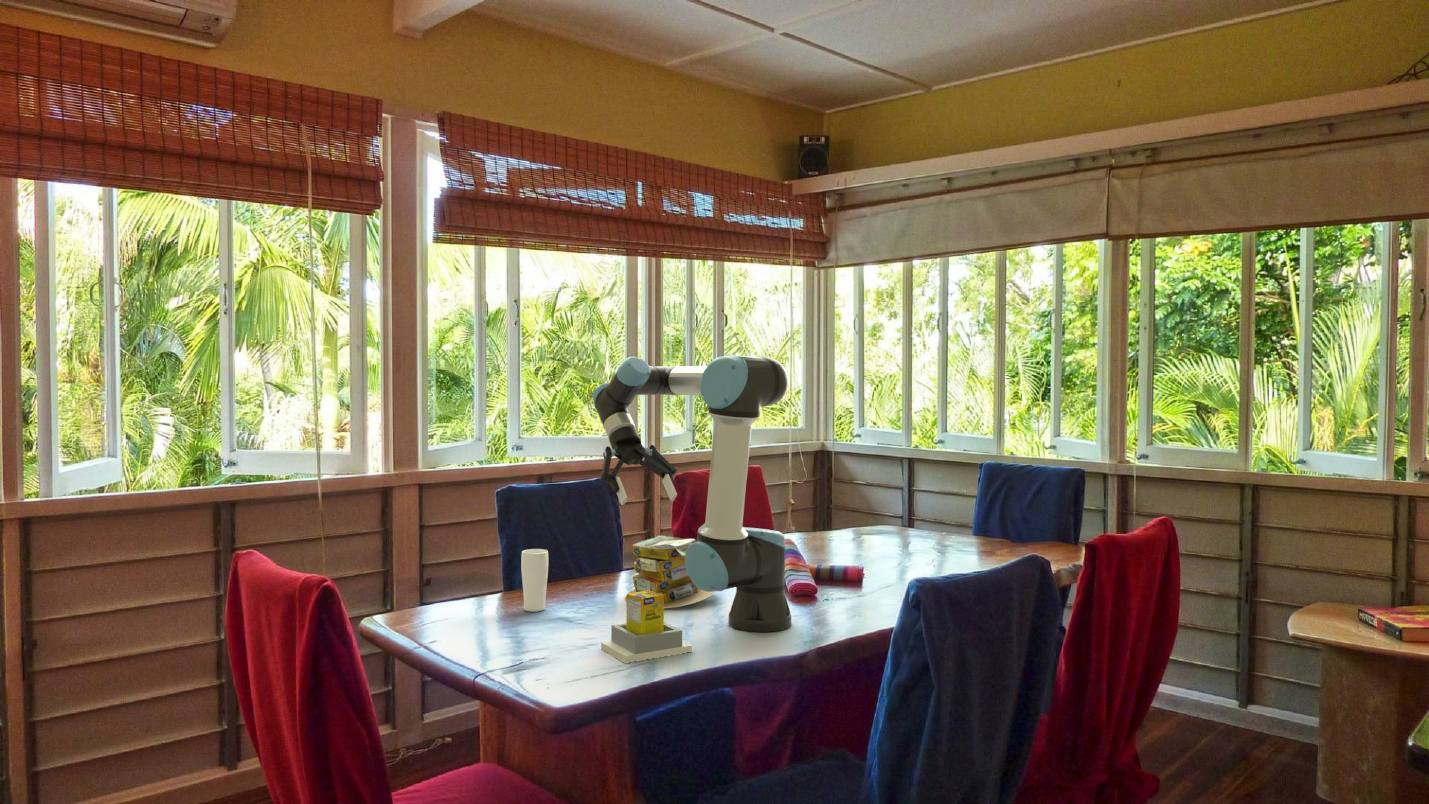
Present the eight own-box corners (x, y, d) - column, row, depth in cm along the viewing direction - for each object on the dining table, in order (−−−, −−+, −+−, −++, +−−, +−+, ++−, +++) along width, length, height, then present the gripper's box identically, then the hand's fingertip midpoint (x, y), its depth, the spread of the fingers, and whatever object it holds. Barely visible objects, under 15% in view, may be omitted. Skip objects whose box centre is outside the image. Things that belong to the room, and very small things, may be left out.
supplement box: (664, 644, 207) (664, 594, 207) (642, 649, 203) (642, 598, 203) (647, 638, 212) (647, 589, 212) (625, 643, 208) (626, 593, 208)
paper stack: (649, 615, 239) (650, 548, 238) (610, 594, 260) (610, 533, 260) (734, 604, 251) (735, 541, 250) (690, 585, 272) (690, 527, 272)
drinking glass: (553, 609, 243) (553, 551, 242) (531, 614, 238) (531, 554, 237) (537, 605, 247) (537, 547, 247) (515, 609, 242) (515, 551, 242)
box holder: (665, 638, 217) (665, 617, 217) (692, 652, 207) (692, 629, 207) (601, 649, 209) (601, 626, 208) (625, 663, 198) (625, 639, 198)
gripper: (660, 442, 253) (688, 506, 240) (573, 445, 239) (598, 512, 227) (670, 423, 248) (699, 487, 236) (581, 425, 235) (607, 493, 223)
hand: (649, 500), depth 231 cm, fingers open, 13 cm apart
